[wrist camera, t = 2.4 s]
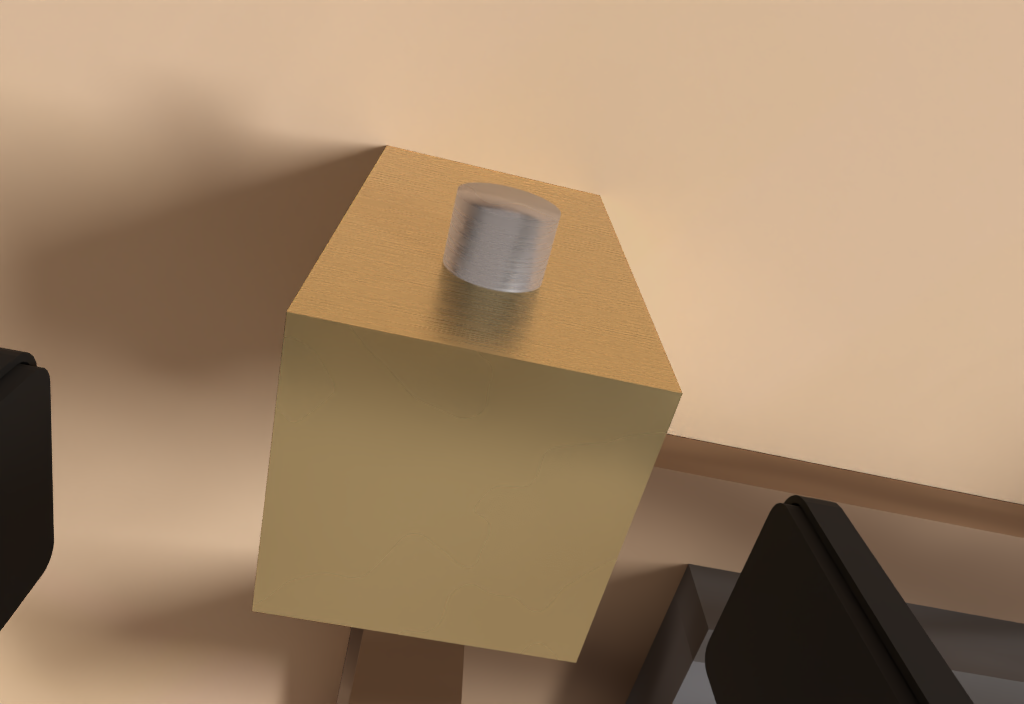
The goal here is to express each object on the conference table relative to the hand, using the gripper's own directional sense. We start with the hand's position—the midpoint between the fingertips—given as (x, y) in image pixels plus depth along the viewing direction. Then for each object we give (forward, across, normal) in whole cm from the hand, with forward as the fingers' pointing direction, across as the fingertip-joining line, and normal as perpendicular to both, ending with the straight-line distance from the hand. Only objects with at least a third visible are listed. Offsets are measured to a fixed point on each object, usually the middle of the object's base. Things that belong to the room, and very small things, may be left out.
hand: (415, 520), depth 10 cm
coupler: (+7, 0, -1) cm, 8 cm away
